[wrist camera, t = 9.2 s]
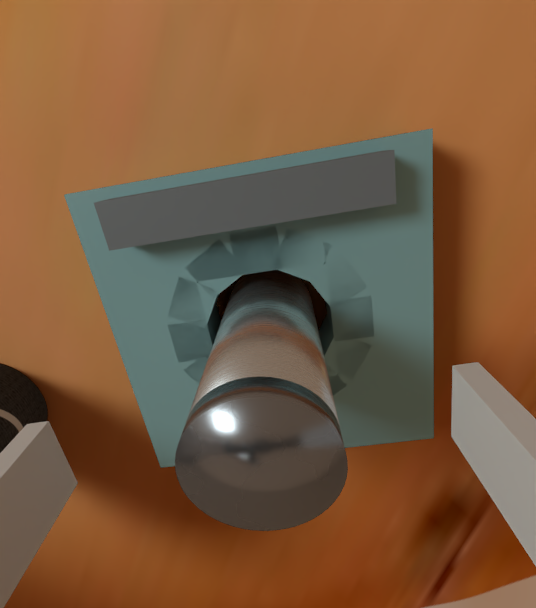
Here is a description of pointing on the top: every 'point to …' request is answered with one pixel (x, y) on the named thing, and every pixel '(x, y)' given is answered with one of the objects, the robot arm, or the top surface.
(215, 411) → the metal cylinder
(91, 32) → the top surface
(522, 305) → the top surface
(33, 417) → the coffee cup
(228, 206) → the jig
